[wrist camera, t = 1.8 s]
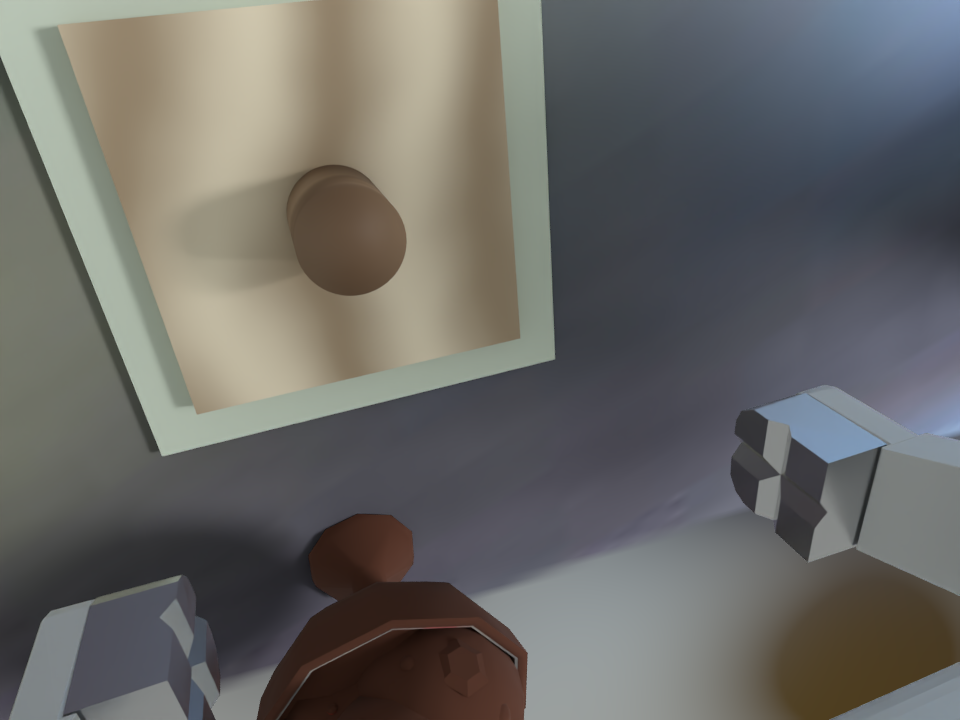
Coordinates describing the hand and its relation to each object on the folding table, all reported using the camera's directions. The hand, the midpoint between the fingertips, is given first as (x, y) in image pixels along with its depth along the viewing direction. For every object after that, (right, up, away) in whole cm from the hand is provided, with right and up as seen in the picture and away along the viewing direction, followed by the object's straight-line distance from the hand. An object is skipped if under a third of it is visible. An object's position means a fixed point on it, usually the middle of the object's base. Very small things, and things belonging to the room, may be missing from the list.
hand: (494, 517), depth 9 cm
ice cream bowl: (-6, -8, +25) cm, 27 cm away
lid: (-6, +8, +16) cm, 19 cm away
